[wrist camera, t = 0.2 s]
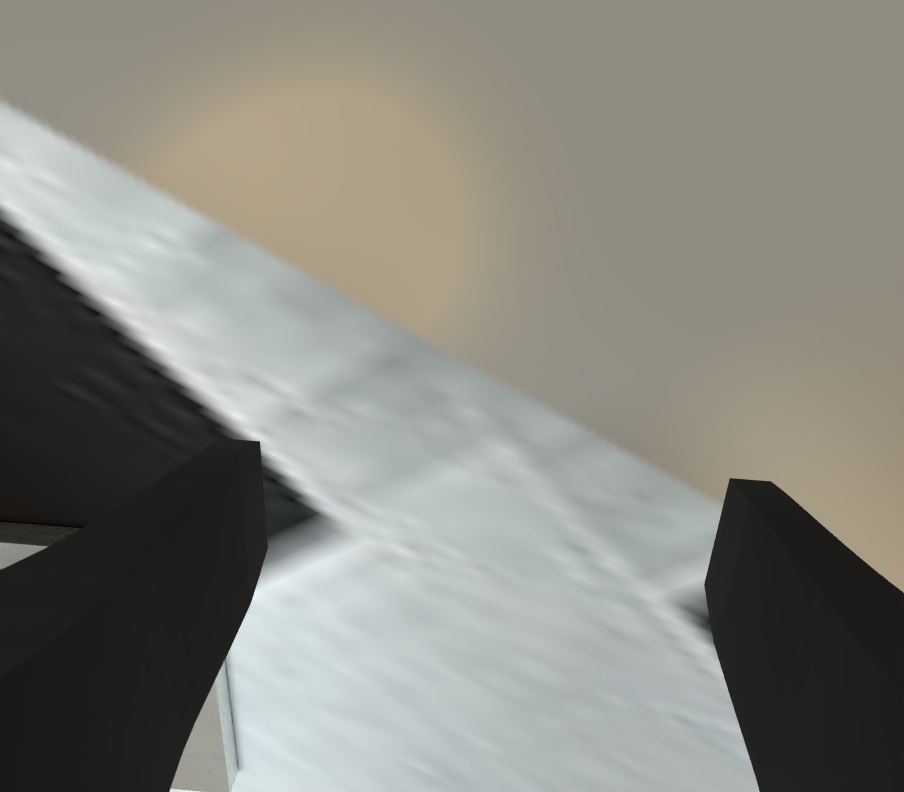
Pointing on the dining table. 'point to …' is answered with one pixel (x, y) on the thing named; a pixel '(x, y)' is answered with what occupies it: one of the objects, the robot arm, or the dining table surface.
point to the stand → (212, 735)
